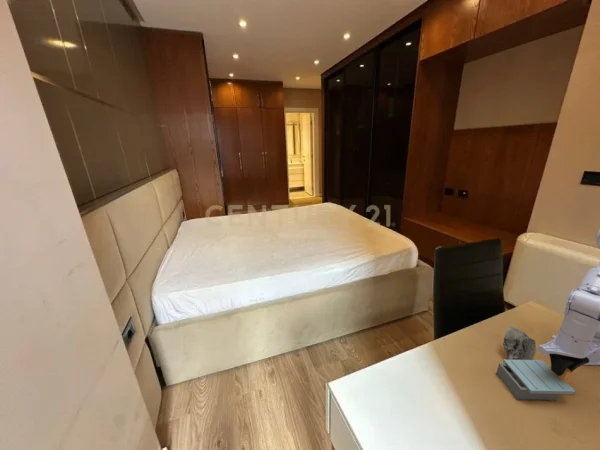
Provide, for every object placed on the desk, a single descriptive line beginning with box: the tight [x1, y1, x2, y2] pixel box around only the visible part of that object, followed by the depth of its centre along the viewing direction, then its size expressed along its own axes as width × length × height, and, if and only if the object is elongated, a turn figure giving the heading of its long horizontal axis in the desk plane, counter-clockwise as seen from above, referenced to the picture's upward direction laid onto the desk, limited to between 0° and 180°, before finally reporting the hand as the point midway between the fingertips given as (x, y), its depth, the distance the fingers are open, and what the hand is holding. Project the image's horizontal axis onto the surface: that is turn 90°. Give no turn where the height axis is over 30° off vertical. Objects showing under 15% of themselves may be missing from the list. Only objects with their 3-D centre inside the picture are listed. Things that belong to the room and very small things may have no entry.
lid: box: [502, 359, 576, 395], centre depth 67 cm, size 12×10×4 cm
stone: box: [502, 325, 537, 360], centre depth 79 cm, size 10×10×10 cm
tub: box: [495, 363, 560, 402], centre depth 69 cm, size 10×8×4 cm
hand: (559, 372), depth 67 cm, fingers closed on lid
